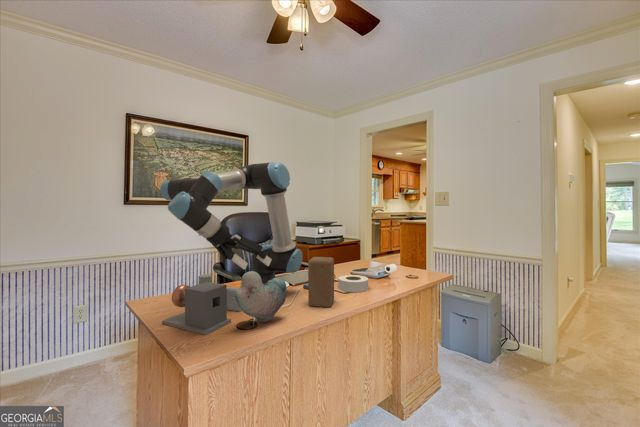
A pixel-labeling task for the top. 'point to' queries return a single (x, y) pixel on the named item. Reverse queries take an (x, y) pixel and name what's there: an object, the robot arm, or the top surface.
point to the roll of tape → (353, 283)
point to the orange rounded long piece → (179, 296)
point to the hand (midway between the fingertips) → (257, 264)
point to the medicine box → (232, 299)
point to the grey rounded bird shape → (260, 296)
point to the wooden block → (321, 281)
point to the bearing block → (202, 309)
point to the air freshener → (205, 278)
